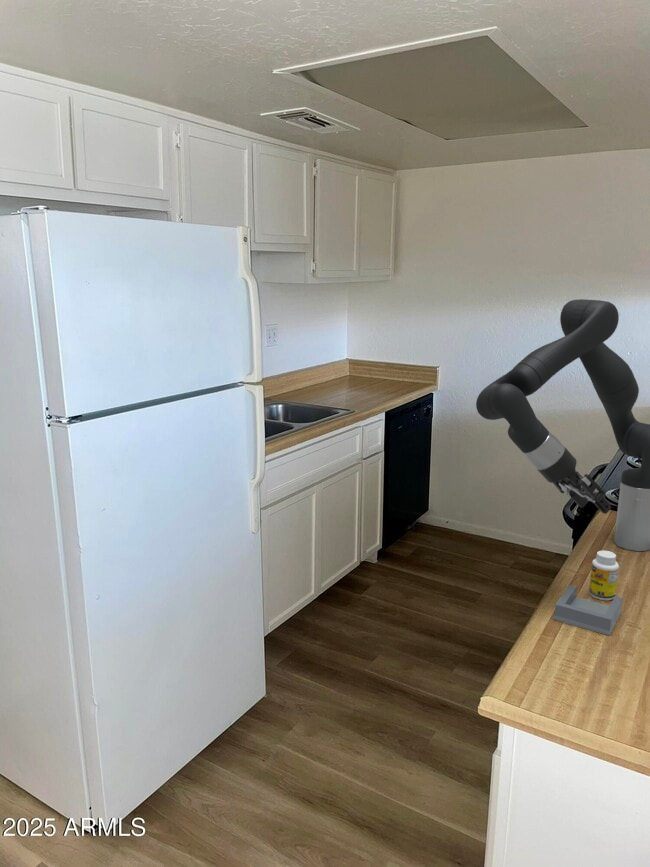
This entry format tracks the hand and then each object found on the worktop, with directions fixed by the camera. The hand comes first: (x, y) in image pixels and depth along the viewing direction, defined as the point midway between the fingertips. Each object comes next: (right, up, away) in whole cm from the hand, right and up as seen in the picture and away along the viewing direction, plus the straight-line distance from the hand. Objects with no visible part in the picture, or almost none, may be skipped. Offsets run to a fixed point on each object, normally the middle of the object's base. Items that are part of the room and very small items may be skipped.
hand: (595, 507), depth 144 cm
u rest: (-3, -23, -4) cm, 23 cm away
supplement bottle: (+4, -21, +5) cm, 22 cm away
